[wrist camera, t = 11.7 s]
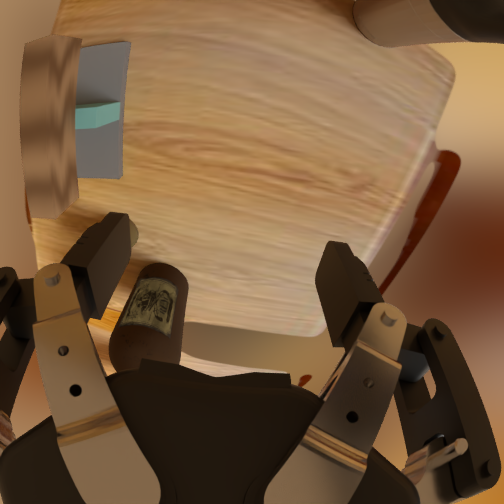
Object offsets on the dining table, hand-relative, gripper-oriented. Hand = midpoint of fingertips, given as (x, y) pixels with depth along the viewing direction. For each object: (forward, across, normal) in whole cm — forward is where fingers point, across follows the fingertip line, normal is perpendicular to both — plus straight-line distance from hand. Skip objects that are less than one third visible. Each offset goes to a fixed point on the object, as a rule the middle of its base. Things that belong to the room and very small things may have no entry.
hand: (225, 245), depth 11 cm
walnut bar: (+20, +21, -2) cm, 29 cm away
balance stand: (+28, +21, -2) cm, 36 cm away
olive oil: (+28, +10, +28) cm, 41 cm away
